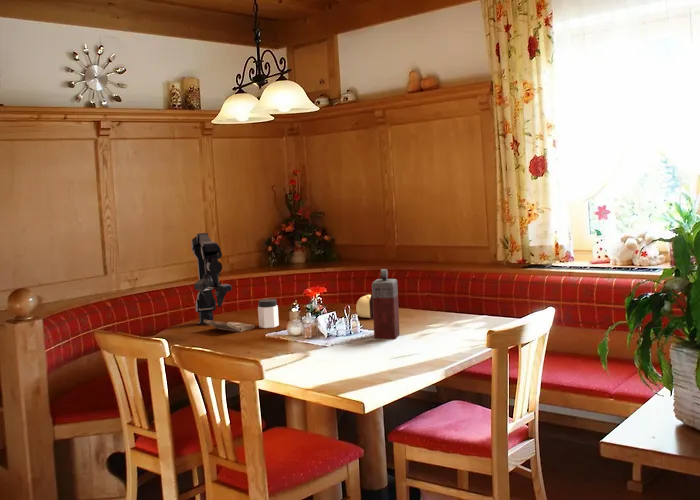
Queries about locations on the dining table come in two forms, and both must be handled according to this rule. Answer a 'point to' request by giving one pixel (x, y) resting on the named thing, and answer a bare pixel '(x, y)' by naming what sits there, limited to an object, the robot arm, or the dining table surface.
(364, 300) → the sculpture
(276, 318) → the jar
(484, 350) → the dining table surface
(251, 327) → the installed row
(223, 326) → the plank
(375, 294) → the red grey rectangular bottle
